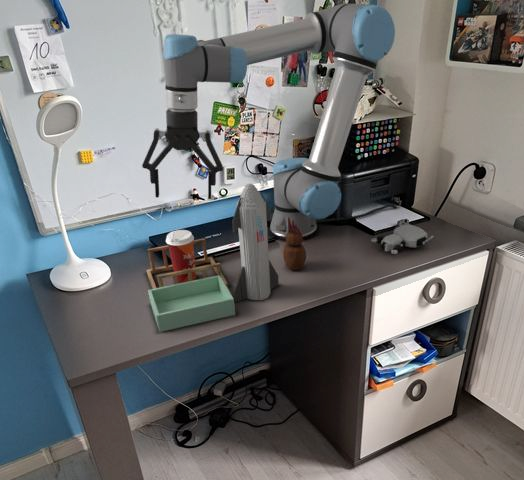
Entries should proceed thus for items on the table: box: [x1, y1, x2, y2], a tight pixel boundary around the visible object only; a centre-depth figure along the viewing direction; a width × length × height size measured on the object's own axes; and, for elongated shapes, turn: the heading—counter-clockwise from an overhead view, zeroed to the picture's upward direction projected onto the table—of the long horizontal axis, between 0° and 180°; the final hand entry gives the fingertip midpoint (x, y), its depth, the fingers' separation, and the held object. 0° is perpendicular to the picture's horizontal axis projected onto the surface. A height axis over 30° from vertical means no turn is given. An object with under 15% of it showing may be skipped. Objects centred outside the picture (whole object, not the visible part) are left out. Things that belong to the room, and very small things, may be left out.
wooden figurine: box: [282, 217, 307, 271], centre depth 149 cm, size 7×6×15 cm
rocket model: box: [231, 183, 279, 303], centre depth 134 cm, size 14×7×30 cm, turn 124°
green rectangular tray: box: [147, 274, 236, 333], centre depth 136 cm, size 20×14×5 cm
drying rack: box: [145, 238, 229, 289], centre depth 149 cm, size 20×18×8 cm
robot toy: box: [371, 222, 434, 255], centre depth 159 cm, size 12×4×15 cm
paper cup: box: [165, 229, 197, 284], centre depth 147 cm, size 8×8×14 cm
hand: (183, 196), depth 138 cm, fingers open, 13 cm apart
